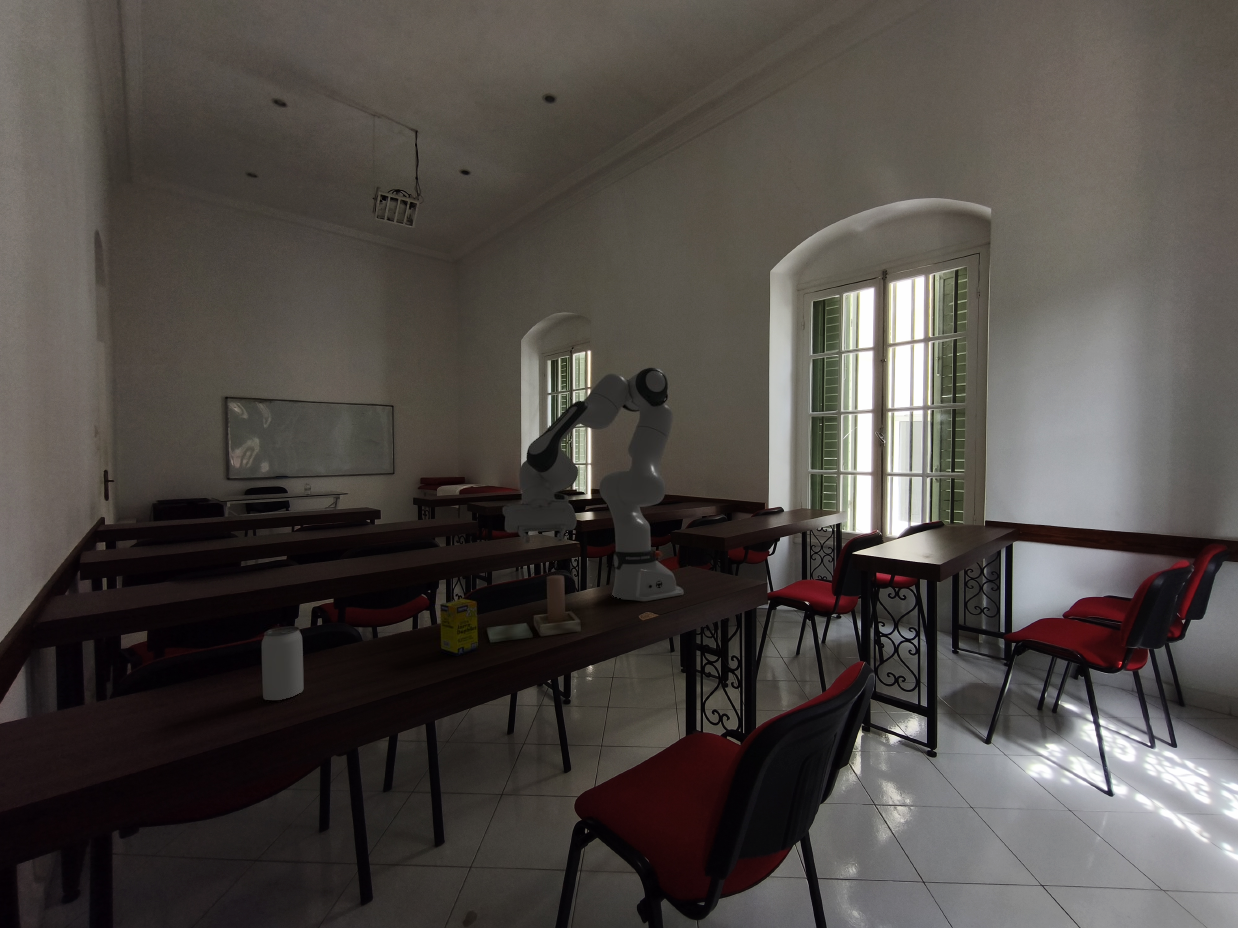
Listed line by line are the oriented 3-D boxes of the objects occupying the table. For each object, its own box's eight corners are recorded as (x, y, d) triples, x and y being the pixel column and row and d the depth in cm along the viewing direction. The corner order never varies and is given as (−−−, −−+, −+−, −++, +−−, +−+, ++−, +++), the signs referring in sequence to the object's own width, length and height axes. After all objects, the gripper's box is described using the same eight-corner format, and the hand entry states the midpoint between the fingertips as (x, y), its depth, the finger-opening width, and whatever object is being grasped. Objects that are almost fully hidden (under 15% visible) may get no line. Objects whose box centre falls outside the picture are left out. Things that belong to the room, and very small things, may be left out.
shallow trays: (571, 620, 146) (571, 611, 146) (580, 631, 137) (580, 621, 137) (486, 630, 139) (486, 620, 139) (490, 642, 130) (490, 631, 130)
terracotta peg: (563, 624, 143) (562, 574, 143) (567, 629, 138) (565, 577, 138) (546, 626, 141) (545, 576, 141) (550, 631, 137) (548, 579, 137)
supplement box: (457, 656, 121) (455, 607, 121) (440, 651, 124) (439, 603, 124) (478, 649, 125) (477, 601, 125) (462, 644, 129) (461, 598, 129)
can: (281, 687, 106) (280, 625, 106) (311, 688, 105) (309, 625, 105) (254, 701, 100) (252, 635, 100) (285, 703, 99) (283, 636, 99)
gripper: (502, 496, 156) (506, 535, 146) (573, 495, 162) (581, 532, 153) (501, 511, 160) (504, 549, 150) (569, 509, 166) (577, 546, 157)
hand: (544, 540), depth 152 cm, fingers open, 8 cm apart
